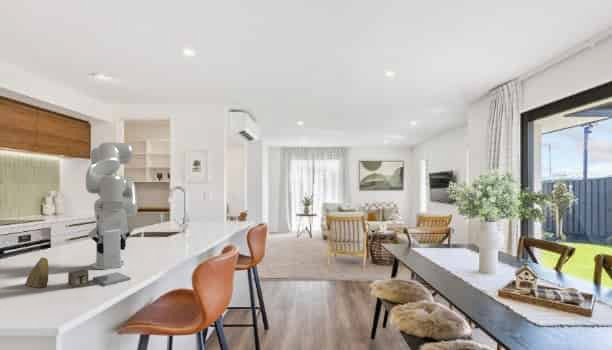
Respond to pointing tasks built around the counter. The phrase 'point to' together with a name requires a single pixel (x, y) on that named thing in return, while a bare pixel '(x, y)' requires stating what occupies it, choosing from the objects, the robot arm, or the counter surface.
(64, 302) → the counter surface
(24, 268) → the counter surface
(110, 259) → the skincare box
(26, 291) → the counter surface
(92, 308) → the counter surface
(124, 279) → the slate mat
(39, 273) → the rock
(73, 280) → the walnut letter cube
